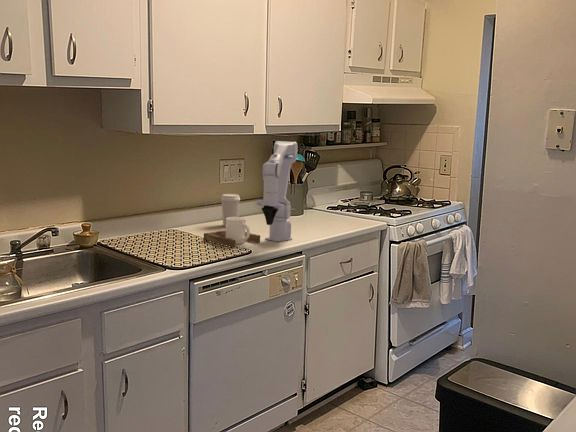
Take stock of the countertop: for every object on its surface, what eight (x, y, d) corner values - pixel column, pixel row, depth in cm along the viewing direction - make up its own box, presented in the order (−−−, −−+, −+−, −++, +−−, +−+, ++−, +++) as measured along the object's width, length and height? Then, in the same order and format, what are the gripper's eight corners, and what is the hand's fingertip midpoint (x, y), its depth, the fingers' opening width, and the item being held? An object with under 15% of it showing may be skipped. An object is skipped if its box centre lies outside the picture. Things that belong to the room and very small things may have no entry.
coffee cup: (216, 224, 284) (216, 194, 282) (233, 223, 290) (233, 193, 287) (226, 228, 277) (227, 196, 274) (243, 226, 283) (244, 195, 280)
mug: (255, 244, 246) (256, 220, 244) (242, 247, 240) (242, 222, 238) (235, 239, 254) (235, 216, 252) (221, 242, 247) (221, 218, 246)
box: (231, 235, 261) (231, 228, 261) (260, 242, 250) (260, 235, 249) (203, 240, 249) (203, 233, 249) (232, 247, 238) (232, 240, 237)
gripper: (251, 190, 240) (250, 222, 242) (277, 194, 231) (275, 228, 233) (262, 189, 245) (262, 221, 248) (288, 193, 236) (287, 226, 238)
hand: (269, 224), depth 241 cm, fingers closed
